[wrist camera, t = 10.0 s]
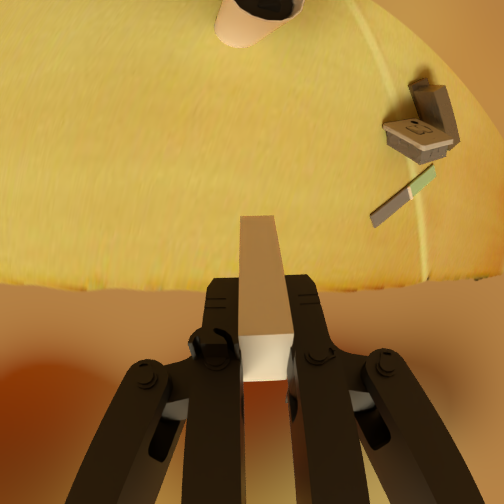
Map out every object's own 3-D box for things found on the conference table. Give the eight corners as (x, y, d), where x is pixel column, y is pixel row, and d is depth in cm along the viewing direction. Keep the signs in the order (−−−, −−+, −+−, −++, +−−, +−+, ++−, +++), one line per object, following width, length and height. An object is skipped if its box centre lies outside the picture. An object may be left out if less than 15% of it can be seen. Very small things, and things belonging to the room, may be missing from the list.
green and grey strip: (369, 215, 39) (372, 216, 38) (432, 164, 38) (435, 165, 38) (373, 227, 40) (376, 228, 39) (434, 175, 40) (437, 176, 39)
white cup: (267, 10, 22) (304, -24, 14) (265, 54, 25) (304, 29, 17) (212, 3, 21) (231, -39, 12) (207, 49, 23) (225, 16, 15)
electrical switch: (414, 117, 34) (454, 128, 27) (415, 144, 36) (454, 158, 30) (379, 123, 33) (422, 134, 26) (382, 152, 35) (422, 168, 29)
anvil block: (407, 85, 31) (431, 85, 27) (423, 78, 31) (445, 78, 27) (428, 150, 37) (450, 156, 33) (442, 139, 37) (463, 144, 33)
